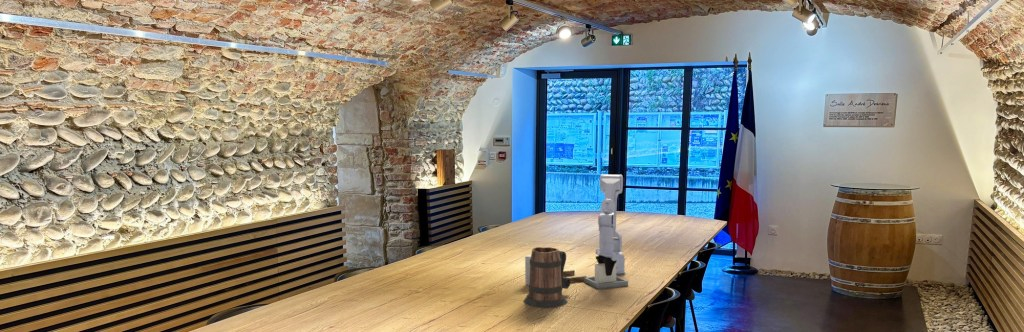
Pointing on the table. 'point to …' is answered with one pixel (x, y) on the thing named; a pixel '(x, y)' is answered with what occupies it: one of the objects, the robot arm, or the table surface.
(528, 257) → the skincare box
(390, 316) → the table surface
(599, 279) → the beige rectangular block
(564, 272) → the walnut dock
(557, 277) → the tankard
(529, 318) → the table surface
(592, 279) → the grey tray
